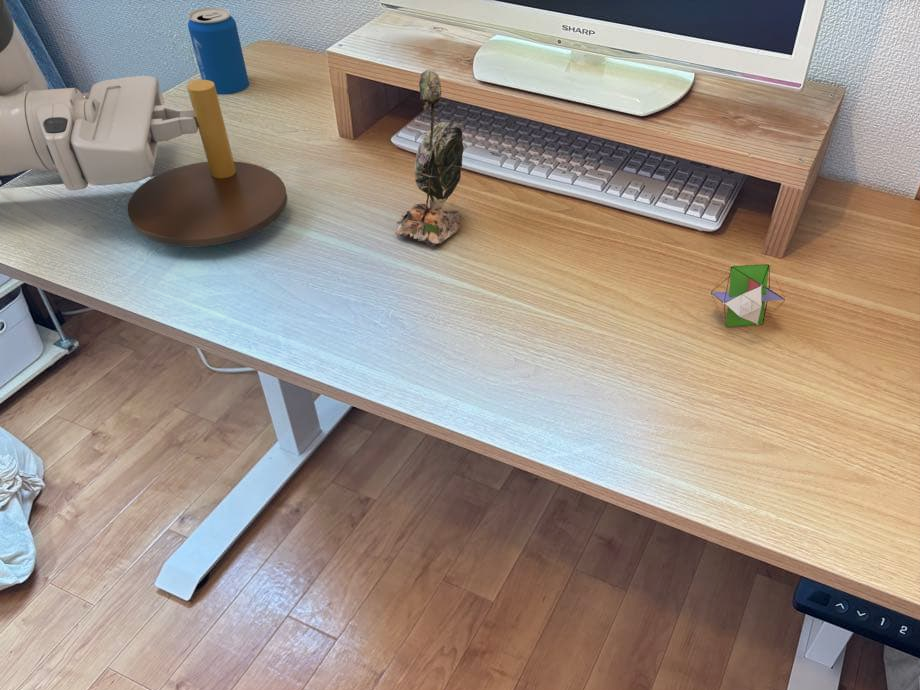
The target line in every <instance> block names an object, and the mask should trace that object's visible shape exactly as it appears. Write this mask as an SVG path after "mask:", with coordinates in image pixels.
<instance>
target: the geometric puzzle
mask: <svg viewBox="0 0 920 690" xmlns="http://www.w3.org/2000/svg"><path fill="white" fill-rule="evenodd" d="M728 270H729V275H728V276H727V278H726V279H724V280H723V281H722V282H721V283H720V284H719V282H720V281H718V282H717V284H719V285H716V286H714V287H713V289H712V290H711V291H709V294H710V295H711V297H712V298H713V299H712V300H715V298H716V299H717V300H719V302H721V303H722V304H723V310H724V311H723V312H724V313H726V316H724V320H725V322H723V324H724V326H725V328H738V327H753V326H762V327H763V326H764V323H765V318H767V317H768V319H767V320H766V321H768V320H769V318H771V317H772V315H770V316H769V314H768V315H766V312H767V306H768V302H774V301H782V302H781V303H780V305H778V306H777V307H776V308H774V309H773V310H772V312H775V311H777V310H778V309H779V308H780V307H781V305H783V304H784V302H786V301H787V299H786V298H785V297H782V296H781V295H779V294H778V293H776V292H775V291H774V290H772V289H771V276H770V275H771V274H770V270H771V271H772V273H774V272H773V269H772V267H771V263H766V264H765V263H764V264H749V265H748V264H745V265H733V264H731V265H730V268H728ZM727 273H728V271H726V273H724V275H726V274H727ZM723 277H724V276H722V277H721V279H723ZM774 279H775V281H776V283H777V284H779V282H778V280H777V279H776V277H774ZM726 280H727V285H726V289H725V291H715V290H716V289H718V288H719V286H721V285H722V284H723V283H724V282H725V281H726ZM728 287H729V288H728ZM779 289H780V292H781V293H782V295H784V293H783V292H782V291H783V290H781V288H779ZM714 297H715V298H714ZM714 303H715V306H716V308H717V309H719V308H718V305H717V303H716V302H714ZM725 306H726V307H727V311H726V307H725ZM718 313H719V314H720V317H721V318H723V317H722V314H721V312H720V311H718Z"/></svg>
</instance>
